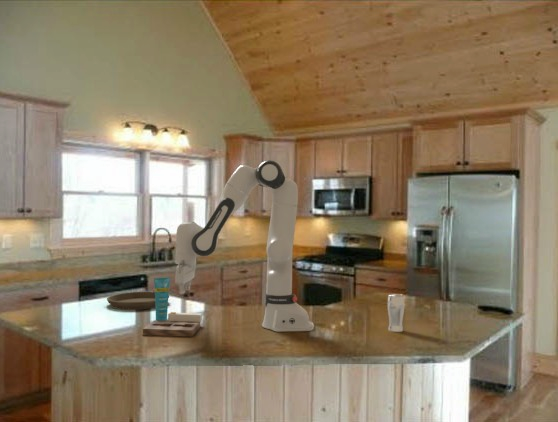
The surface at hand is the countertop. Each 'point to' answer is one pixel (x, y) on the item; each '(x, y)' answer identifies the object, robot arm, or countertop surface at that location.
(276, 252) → the robot arm
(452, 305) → the countertop surface
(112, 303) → the plant saucer
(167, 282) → the tube
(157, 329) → the keyhole board
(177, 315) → the power strip
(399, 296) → the beer glass
